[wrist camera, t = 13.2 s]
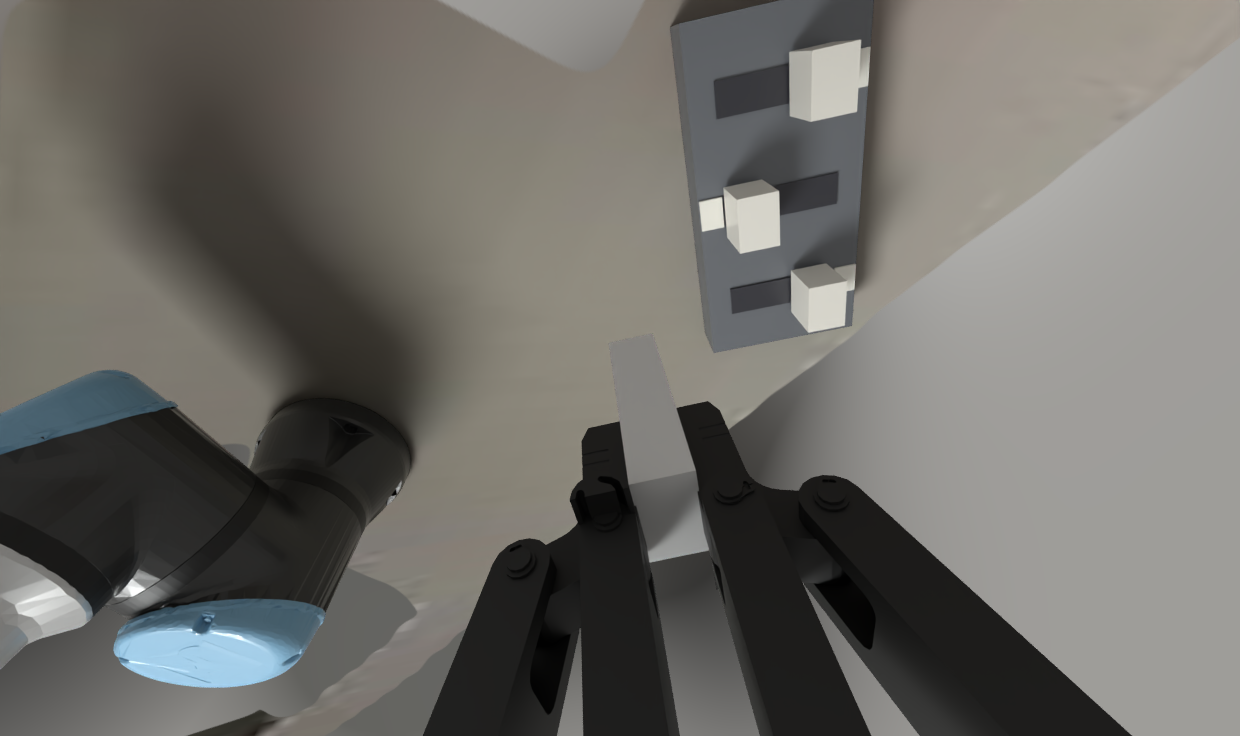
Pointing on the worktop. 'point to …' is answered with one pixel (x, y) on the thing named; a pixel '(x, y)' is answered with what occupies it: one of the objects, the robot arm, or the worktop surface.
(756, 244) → the tab
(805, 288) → the tab
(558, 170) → the worktop surface
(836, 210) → the switch bank
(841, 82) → the tab
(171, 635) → the robot arm
